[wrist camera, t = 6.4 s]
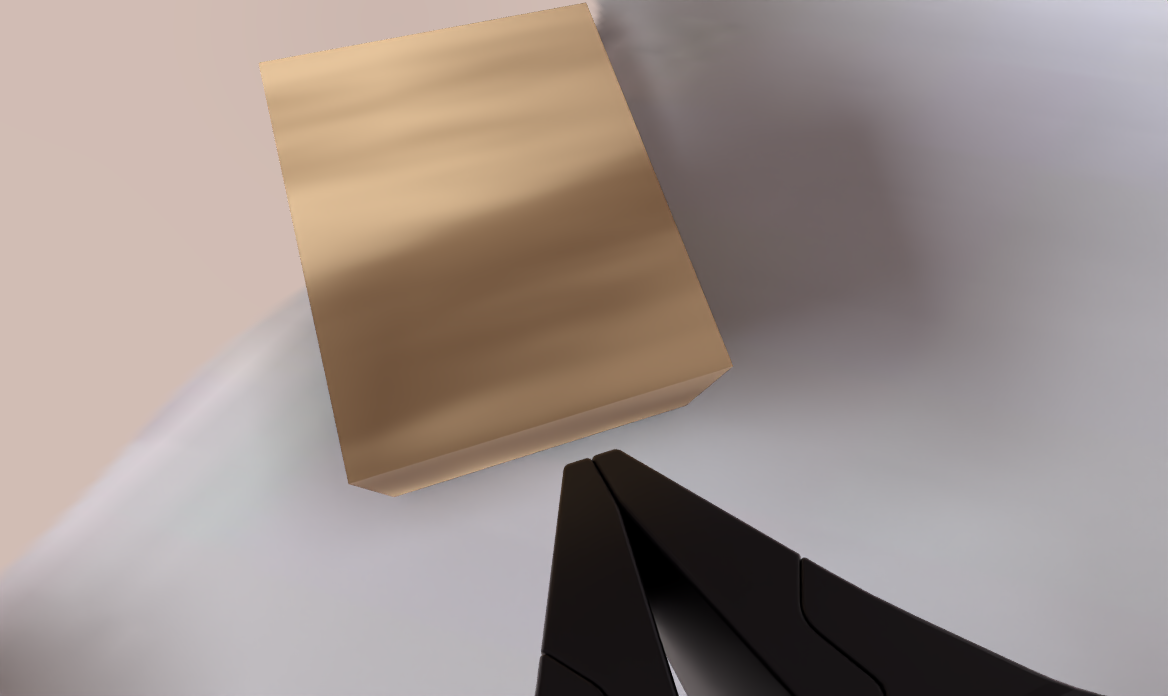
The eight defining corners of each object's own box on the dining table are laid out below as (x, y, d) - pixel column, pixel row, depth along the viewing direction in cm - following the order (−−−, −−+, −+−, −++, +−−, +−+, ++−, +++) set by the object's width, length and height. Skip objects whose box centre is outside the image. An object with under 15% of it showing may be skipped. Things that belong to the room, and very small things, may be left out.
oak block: (732, 366, 13) (584, -3, 15) (348, 483, 11) (257, 57, 14) (686, 405, 16) (573, 105, 19) (394, 497, 15) (315, 160, 18)
